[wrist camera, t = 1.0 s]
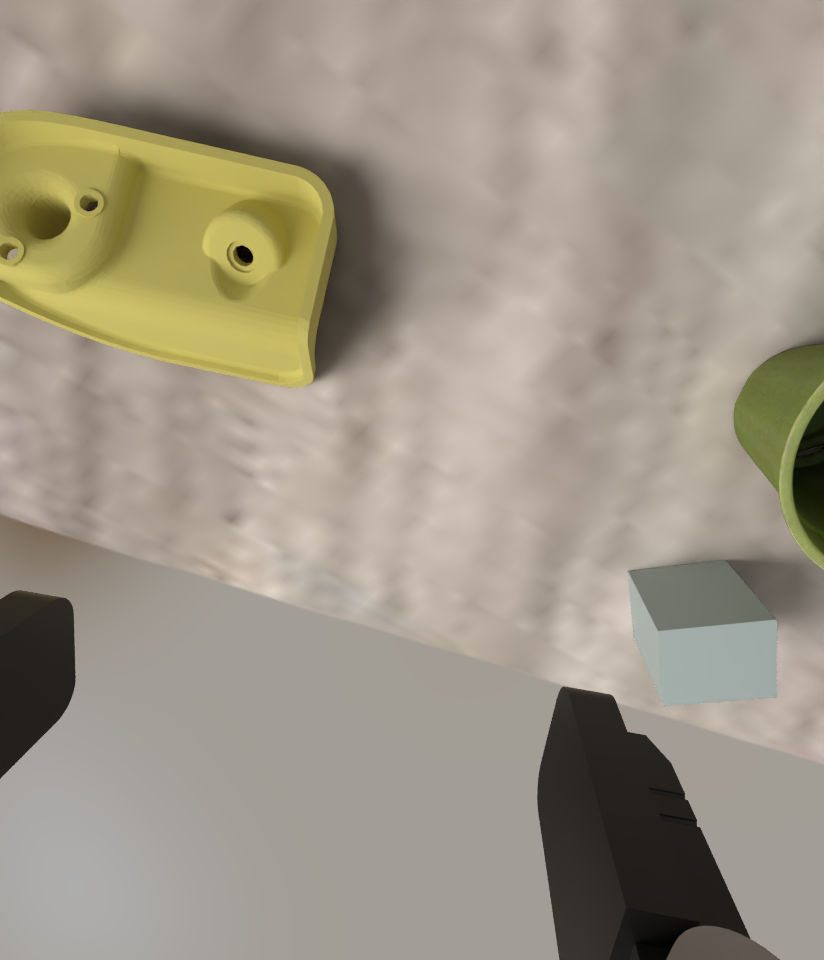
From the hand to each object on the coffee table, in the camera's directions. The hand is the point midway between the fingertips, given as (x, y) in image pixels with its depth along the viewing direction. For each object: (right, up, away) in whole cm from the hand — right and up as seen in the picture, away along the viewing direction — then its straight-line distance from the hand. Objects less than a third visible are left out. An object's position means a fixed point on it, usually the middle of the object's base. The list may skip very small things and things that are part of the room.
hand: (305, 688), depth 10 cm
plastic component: (-12, +17, +26) cm, 33 cm away
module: (+19, -5, +29) cm, 35 cm away
